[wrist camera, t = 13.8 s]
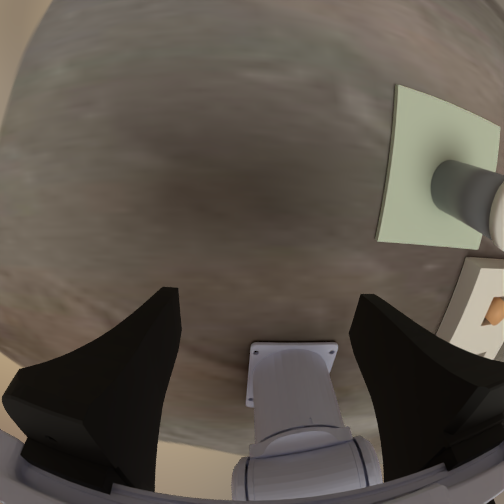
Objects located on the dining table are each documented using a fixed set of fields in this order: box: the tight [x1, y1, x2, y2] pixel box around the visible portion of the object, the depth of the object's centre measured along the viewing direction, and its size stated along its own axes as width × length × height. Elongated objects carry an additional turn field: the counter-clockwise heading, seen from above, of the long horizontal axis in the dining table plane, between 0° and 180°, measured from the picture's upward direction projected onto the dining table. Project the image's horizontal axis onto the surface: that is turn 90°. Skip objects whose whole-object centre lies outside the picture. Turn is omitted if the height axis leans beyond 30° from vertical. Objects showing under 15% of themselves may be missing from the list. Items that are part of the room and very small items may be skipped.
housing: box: [436, 257, 504, 360], centre depth 25 cm, size 19×12×2 cm, turn 176°
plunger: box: [485, 297, 504, 326], centre depth 23 cm, size 3×3×2 cm
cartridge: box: [431, 160, 504, 251], centre depth 15 cm, size 5×5×8 cm
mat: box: [375, 85, 500, 250], centre depth 19 cm, size 12×12×1 cm
